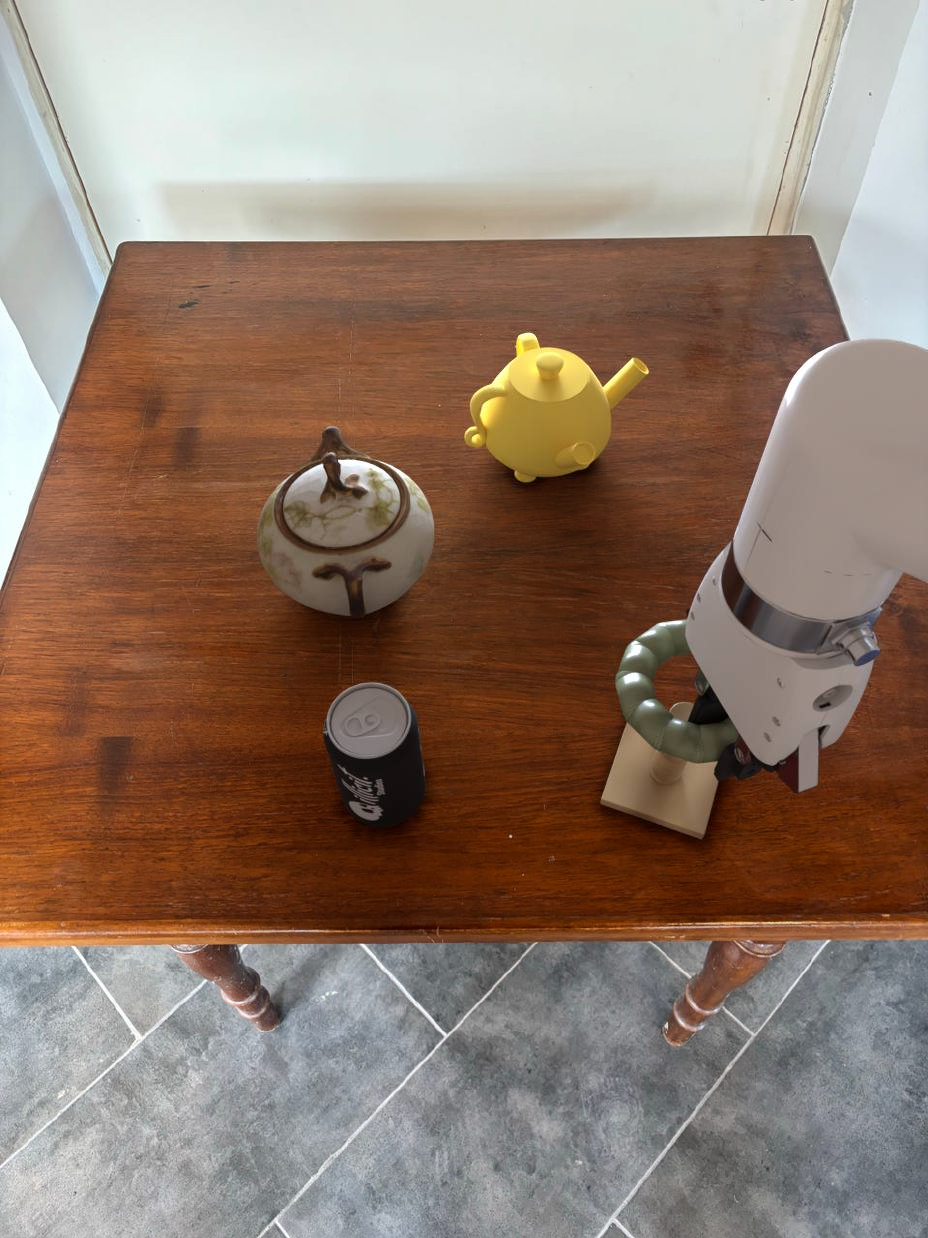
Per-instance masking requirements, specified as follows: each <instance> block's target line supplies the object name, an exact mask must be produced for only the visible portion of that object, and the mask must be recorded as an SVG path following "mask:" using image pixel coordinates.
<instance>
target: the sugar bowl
mask: <svg viewBox="0 0 928 1238" xmlns="http://www.w3.org/2000/svg"><path fill="white" fill-rule="evenodd" d="M340 432H341V431H340V429H339V427H337V426H334V425H330V426H327V427H326V428H324V429H323V431H322V433H321V443H320V445H319V447H318V449H317V450H316V452H315V453H314V454H313V455H312V456H311V457H310V458H309V459H307V460H306V461H304V462H303V463H302V464H301V466H300V467H299V469H298V470H297V471H295V472H294V473H292V474H291V475H289V476H288V477H287V478H286V479H284V480H283V481H282V482H280V484H279V485H278V486H276V488H275V489H274V491H272V493H271V494H270V495H269V496H268V498H267V500H266V502H265V503H264V506H263V508H262V510H261V513H260V516H259V519H258V523H257V530H256V545H257V550H258V551H257V552H258V555H259V556H258V557H259V559H260V562H261V565H262V567H263V569H264V571H265V572H266V574H267V576H268V577H269V578H270V580H271V581H272V583H273V584H274V585H275V586H276V587H277V588H278V589H279V590H280V592H282V593H283V594H284V595H285V596H287V597H289V598H290V599H292V600H294V601H296V602H297V603H299V604H301V605H303V606H305V607H309V608H312V609H314V610H317V611H320V612H323V613H328V614H333V615H339V616H345V617H353V618H354V619H360V618H364V617H365V616H366V615H369V614H371V613H373V612H375V611H376V612H377V611H378V610H380V609H382V608H384V607H385V608H386V607H387V606H389V605H391V604H392V603H394V602H395V601H397V600H399V599H400V598H402V597H403V596H404V595H405V594H406V593H407V592H408V591H409V590H410V589H411V588H412V587H413V586H414V585H415V584H416V583H417V582H418V580H419V579H420V577H421V576H422V575H423V573H424V572H425V570H426V568H427V566H428V564H429V562H430V559H431V556H432V553H433V549H434V545H435V521H434V515H433V511H432V508H431V506H430V503H429V501H428V499H427V497H426V495H425V494H424V492H423V491H422V490H421V488H420V487H419V486H418V484H416V482H415V481H414V480H412V479H411V478H410V476H408V475H407V474H406V473H404V472H402V470H400V469H398V468H396V467H395V466H393V465H391V464H388V463H386V462H383V461H381V460H377V459H374V458H370V456H369V455H368V454H366V453H364V452H361V451H358V450H355V449H353V448H352V447H350V446H349V445H348V443H346V442H345V441H344V439H343V438H342V436H341V433H340Z"/></svg>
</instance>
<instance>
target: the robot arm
mask: <svg viewBox="0 0 928 1238" xmlns="http://www.w3.org/2000/svg"><path fill="white" fill-rule="evenodd" d="M903 574H906V575H909V576H911V577H913V578H915V579H917V580H918V581H921V582H922V583H926V584H927V585H928V349H926V348H924V347H922V346H919V345H917V344H913V343H909V342H906V341H902V340H896V339H889V338H875V337H873V338H871V337H870V338H868V337H867V338H856V339H852V340H846V341H842V342H839V343H835V344H833V345H831V346H828V347H827V348H825V349H823V350H821V351H819V352H817V353H816V354H815V355H813V356H812V357H810V358H809V359H808V360H807V361H806V362H805V363H803V365H802V366H801V367H800V368H799V369H798V370H797V372H796V373H795V374H794V376H793V377H792V379H791V380H790V382H789V384H788V386H787V388H786V390H785V393H784V395H783V397H782V399H781V402H780V405H779V407H778V410H777V413H776V416H775V419H774V422H773V424H772V428H771V431H770V433H769V436H768V439H767V442H766V444H765V447H764V450H763V453H762V456H761V458H760V462H759V464H758V467H757V470H756V472H755V475H754V478H753V481H752V484H751V486H750V489H749V492H748V495H747V498H746V500H745V504H744V505H743V508H742V512H741V515H740V518H739V520H738V523H737V526H736V530H735V532H734V535H733V537H732V540H731V541H730V542H729V543H728V544H727V545H726V546H725V547H724V548H723V550H722V551H721V552H720V553H719V555H717V557H716V558H715V560H714V561H713V562H712V564H711V565H710V567H709V568H708V570H707V572H706V573H705V574H704V577H703V579H702V581H701V583H700V584H699V587H698V589H697V591H696V593H695V595H694V598H693V601H692V603H691V605H690V608H688V609H686V611H685V614H686V615H685V616H686V619H687V623H686V632H685V636H686V640H687V643H688V645H689V648H690V650H691V652H692V654H691V655H692V656H693V658H694V660H695V661H696V663H697V665H698V668H699V669H698V671H697V673H696V675H695V676H694V679H693V684H694V687H695V690H696V692H697V693H698V695H697V696H696V698H695V701H694V703H693V704H694V706H693V708H692V711H691V713H690V716H689V718H688V722H691V723H694V724H697V725H704V724H711V723H719V722H723V721H724V720H725V719H726V718H728V717H730V719H731V720H732V722H733V724H734V725H735V727H736V728H737V730H738V732H739V734H738V737H737V740H736V742H733V743H731V744H728V745H727V746H725V748H724V750H723V752H722V754H721V756H720V758H719V760H718V762H717V764H716V766H715V768H714V775H715V777H716V779H717V781H719V782H721V781H724V780H727V779H730V778H732V777H735V778H736V780H737V781H739V782H740V781H741V782H742V781H744V780H748V779H749V778H752V777H754V776H756V775H758V773H760V772H761V771H762V770H764V771H766V772H767V773H774V772H775V773H776V774H777V778H779V780H780V781H782V782H783V783H784V784H785V785H786V786H787V787H788V788H789V789H790V790H791V792H792V793H794V794H796V795H798V794H801V793H803V792H806V791H808V790H811V789H814V788H817V786H818V784H819V747H820V749H821V750H822V749H825V748H827V747H829V746H831V745H833V744H835V743H837V742H838V740H839V739H840V737H842V734H843V733H844V731H845V729H846V728H847V726H848V725H849V723H850V721H851V719H852V717H853V716H854V715H855V714H854V713H855V712H856V709H857V708H858V706H859V704H860V702H861V699H862V697H863V696H864V692H865V691H866V689H867V685H868V682H869V680H870V677H871V674H872V671H873V667H874V662H875V659H876V658H877V657H878V656H879V655H880V654H881V651H882V650H881V648H880V646H878V639H877V636H876V634H875V632H874V628H873V626H874V625H875V623H876V622H877V620H878V619H879V617H880V616H881V614H882V612H883V608H882V607H883V606H884V604H885V602H886V601H887V599H888V598H889V596H890V594H892V592H893V590H894V589H895V587H896V585H897V584H898V582H899V580H900V579H901V577H903Z"/></svg>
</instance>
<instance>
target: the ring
mask: <svg viewBox="0 0 928 1238" xmlns="http://www.w3.org/2000/svg"><path fill="white" fill-rule="evenodd" d="M686 623H687V618H686V619H679V620H678V619H677V620H670V621H669V620H668V621H662V622H659V623H656V624H655V625H653V626H652V627H650V628H649V629H648V630H646V631H645V632H644V633H642V634H641V635H639V636H638V637H636V638H635V639H634V640H632V641H631V642H630V643H628V645H627V646H626V649H625V650H624V653H623V656H622V659H621V662H620V665H619V667H618V670H617V673H616V675H615V679H614V685H615V688H616V693H617V696H618V700H619V704H620V707H621V712H622V716H623V718H624V720H625V721H626V723H627V722H628V723H629V725H630V726H631V727H632V728H633V729H634V730H635V731H636V732H637V733H638V734H639V735H640V736H641V737H642V738H643V739H644V740H645V741H646V742H647V743H648V744H649V745H650V746H651V747H652V748H654V749H655V750H657V751H660V752H663V753H665V754H668V755H671V756H674V757H677V758H680V759H683V760H686V761H689V762H691V763H697V764H700V763H708V762H716V761H718V760H719V758H720V756H721V754H722V752H723V750H724V748H725V746H727V745H728V744H731V743H733V742H736V740H737V737H738V734H739V732H738V730H737V728H736V727H735V725H734V724H733V722H732V720H731V719H730V717H728V718H726V719H725V720H724V721H723V722H719V723H711V724H704V725H697V724H694V723H691V722H688V721H685V720H682V719H679V718H676V717H674V716H673V715H672V714H671V713H670V712H669V711H670V710H668V709H667V708H666V707H665V706H664V704H662V703H661V702H660V701H659V698H658V696H657V692H656V689H655V686H654V680H655V677H656V674H657V672H658V668H659V667H660V666H662V665H663V664H664V663H666V662H668V660H670V659H671V658H673V657H680V656H681V657H682V656H689V655H693V654H692V652H691V650H690V648H689V645H688V643H687V640H686V636H685V632H686Z"/></svg>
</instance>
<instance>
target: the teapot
mask: <svg viewBox="0 0 928 1238" xmlns="http://www.w3.org/2000/svg"><path fill="white" fill-rule="evenodd" d="M536 336H537V335H535V334H533V333H531V332H525V333H522V334H520V335H518V337H517V338H516V345H515V348H516V357H515V358H514V359H513V360H512V361H510V362H509V363H508V364H507V365H506V366H505V367H504V368H503V369H502V371H500V372H499V374H498V375H497V376H496V377H495V378H494V380H493V381H492V383H491V384H489V385H485V386H483V387H482V388H480V389H478V390H477V391H476V392H474V393H473V395H472V396H471V399H470V402H469V411H470V415H471V418H472V421H473V423H474V426H470V427H468V429H467V430H466V431H465V433H464V442H465V444H466V445H467V446H468V447H470V448H473V449H479V448H482V447H484V446H485V447H486V448H487V450H488V451H489V452H490V454H491V455H492V456H493V457H494V458H495V459H496V460H497V461H499V462H500V463H501V464H502V465H505V466H506V467H508V468H509V469H511V470H512V471H514V477H515V478H516V479H517V480H518V481H520V482H522V483H530V482H533V481H535V480H536V479H537V478H538V477H539V478H552V477H559V476H564V475H568V474H571V473H574V472H577V471H581V470H585V469H586V468H588V467H589V466H590V464H591V463H592V462H593V461H595V460H597V458H598V457H599V456H600V455H601V454H602V452H603V451H604V450H605V448H606V447H607V445H608V443H609V440H610V437H611V432H612V431H611V430H612V415H611V413H612V412H611V411H612V410H613V409H614V408H615V406H617V405H618V404H619V403H620V402H621V401H622V400H623V399H624V398H625V397H626V396H627V395H628V394H629V393H630V392H631V391H632V390H633V389H634V388H635V387H637V385H638V384H639V383H641V381H642V380H644V379H645V378H646V376H648V375H649V373H650V370H649V369H648V367H647V365H646V364H645V363H644V362H643V361H642V360H640V359H639V358H637V357H632V358H631V359H630V360H629V361H628V362H627V363H626V364H625V365H624V366H623V367H622V368H621V369H620V370H619V371H618V372H617V373H616V374H615V375H614V376H613V377H612V378H611V379H610V380H609V381H608V382H607V383H606V384H605V385H604V386H603V385H602V384H601V382H600V380H599V378H598V377H597V376H596V375H595V373H594V372H593V371H592V369H591V368H590V366H589V365H588V363H586V362H585V361H584V360H583V359H582V358H581V357H579V356H578V355H576V354H575V353H573V352H571V351H569V350H566V349H562V348H558V347H540V343H539V341H538V338H537V337H536Z"/></svg>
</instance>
